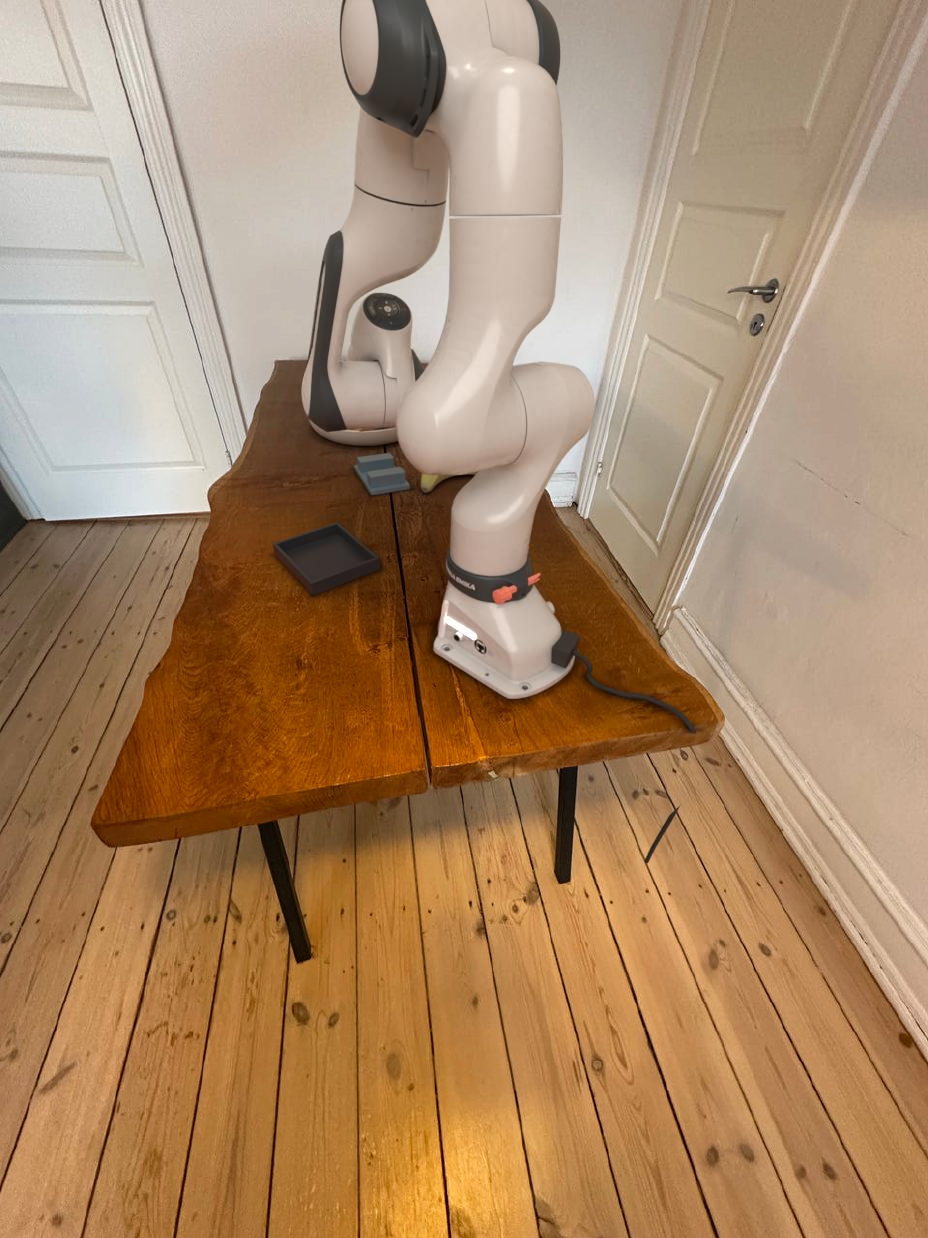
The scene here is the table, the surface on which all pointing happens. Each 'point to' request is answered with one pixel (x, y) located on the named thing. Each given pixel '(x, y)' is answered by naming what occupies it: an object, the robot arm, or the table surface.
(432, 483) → the banana
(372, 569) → the tray
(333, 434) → the bowl
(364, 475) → the holder
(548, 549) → the table surface
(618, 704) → the table surface
